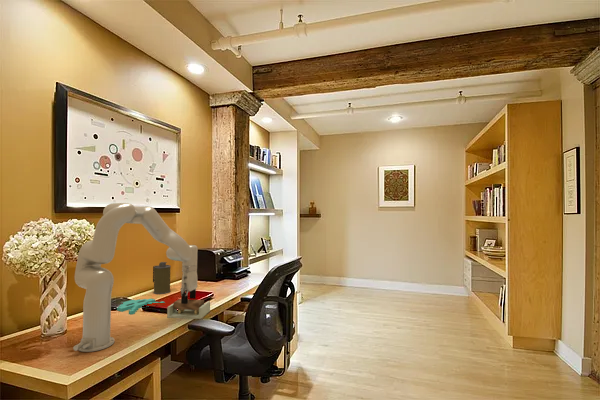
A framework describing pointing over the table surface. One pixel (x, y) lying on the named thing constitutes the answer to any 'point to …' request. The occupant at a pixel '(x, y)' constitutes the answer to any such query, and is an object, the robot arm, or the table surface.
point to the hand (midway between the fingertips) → (188, 300)
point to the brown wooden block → (188, 304)
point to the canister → (161, 278)
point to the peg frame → (188, 312)
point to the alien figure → (135, 305)
